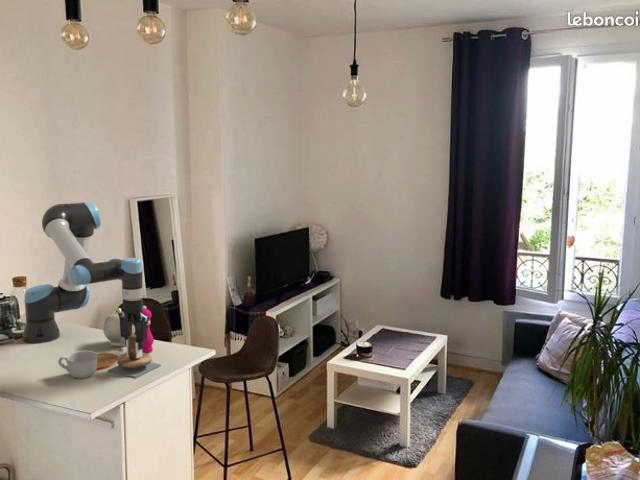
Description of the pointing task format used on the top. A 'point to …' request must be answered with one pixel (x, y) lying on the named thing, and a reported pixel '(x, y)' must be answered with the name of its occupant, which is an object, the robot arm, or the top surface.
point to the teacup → (80, 363)
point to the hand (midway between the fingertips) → (134, 355)
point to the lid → (133, 356)
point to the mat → (134, 370)
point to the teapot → (114, 330)
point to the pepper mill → (147, 343)
